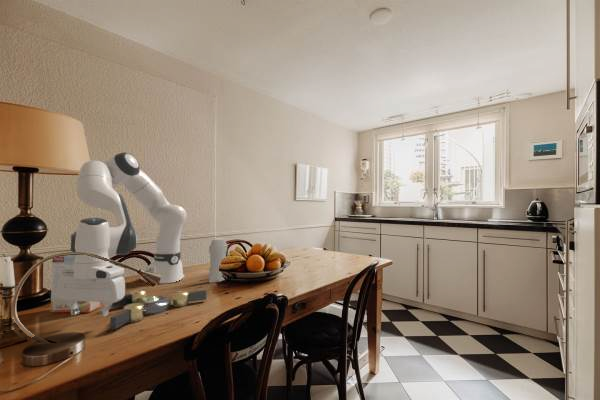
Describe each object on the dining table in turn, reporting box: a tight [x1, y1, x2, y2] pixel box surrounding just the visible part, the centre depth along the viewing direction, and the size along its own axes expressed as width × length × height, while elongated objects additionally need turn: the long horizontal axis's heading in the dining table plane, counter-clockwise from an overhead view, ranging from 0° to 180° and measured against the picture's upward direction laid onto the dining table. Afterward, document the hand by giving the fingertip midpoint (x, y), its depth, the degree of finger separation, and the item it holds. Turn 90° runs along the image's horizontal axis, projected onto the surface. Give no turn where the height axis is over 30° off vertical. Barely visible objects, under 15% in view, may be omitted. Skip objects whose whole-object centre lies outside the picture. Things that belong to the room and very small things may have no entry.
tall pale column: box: [208, 237, 228, 284], centre depth 141 cm, size 11×4×22 cm, turn 140°
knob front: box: [109, 303, 144, 330], centre depth 89 cm, size 12×6×4 cm, turn 177°
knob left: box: [172, 289, 207, 308], centre depth 108 cm, size 12×6×4 cm, turn 117°
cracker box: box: [50, 251, 102, 313], centre depth 100 cm, size 14×6×21 cm, turn 90°
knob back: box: [109, 288, 147, 309], centre depth 105 cm, size 12×6×4 cm, turn 147°
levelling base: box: [132, 295, 172, 317], centre depth 102 cm, size 13×13×5 cm
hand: (89, 314), depth 86 cm, fingers open, 8 cm apart
